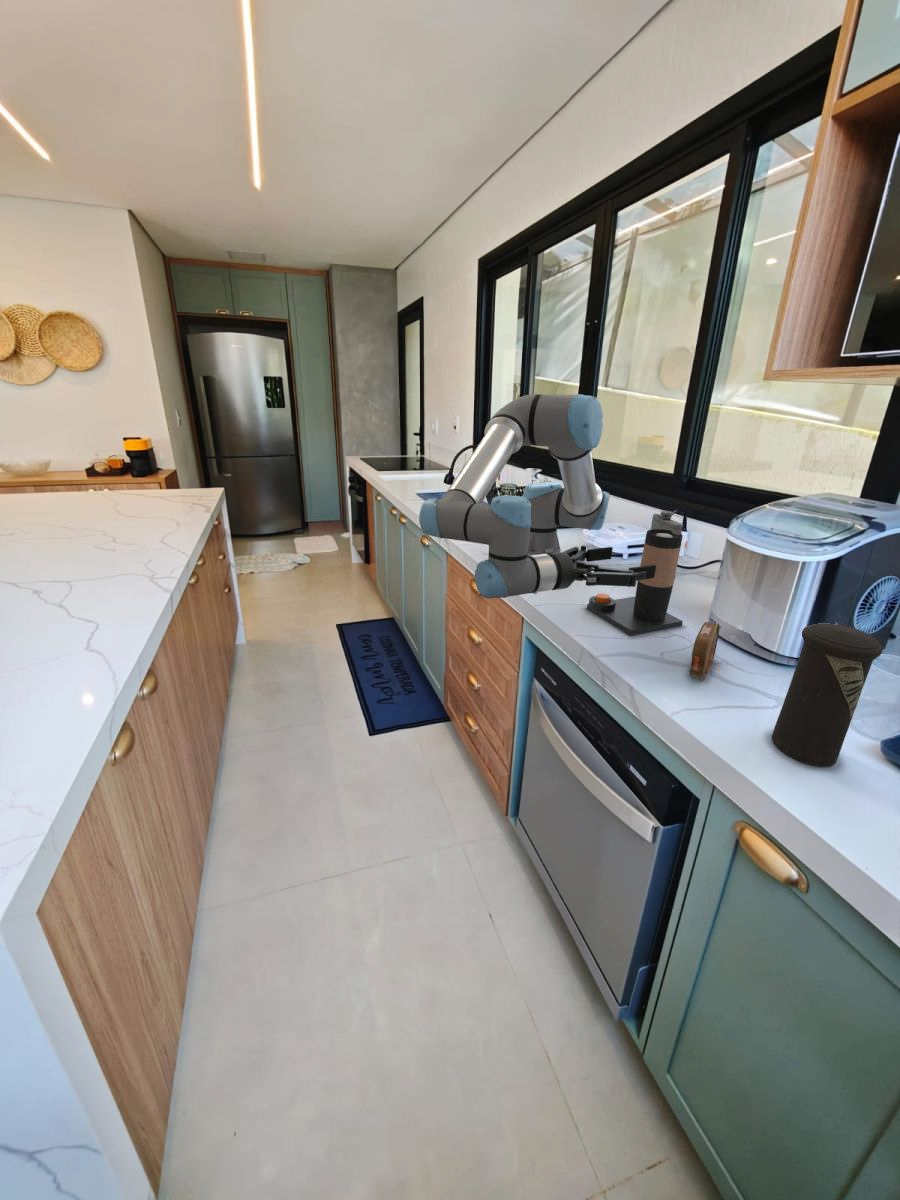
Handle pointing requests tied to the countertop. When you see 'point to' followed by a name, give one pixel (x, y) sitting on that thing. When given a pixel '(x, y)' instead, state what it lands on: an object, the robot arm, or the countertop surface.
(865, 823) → the countertop surface
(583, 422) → the robot arm
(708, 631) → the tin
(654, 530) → the travel mug
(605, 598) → the tare button
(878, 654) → the container
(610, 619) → the scale
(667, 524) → the flask
